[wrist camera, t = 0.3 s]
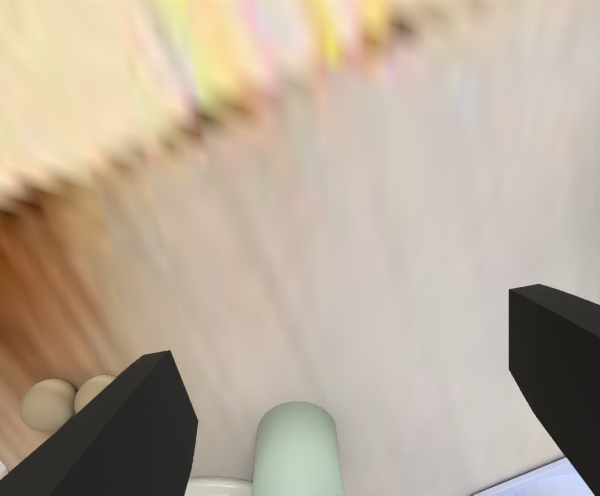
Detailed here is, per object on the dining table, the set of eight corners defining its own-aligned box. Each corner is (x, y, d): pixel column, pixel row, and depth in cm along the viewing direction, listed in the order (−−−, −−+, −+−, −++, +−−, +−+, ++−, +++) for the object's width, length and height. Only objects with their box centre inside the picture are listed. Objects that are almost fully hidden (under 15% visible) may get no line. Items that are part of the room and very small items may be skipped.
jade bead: (350, 440, 23) (369, 555, 17) (285, 470, 24) (283, 589, 18) (309, 389, 21) (316, 497, 16) (241, 423, 22) (225, 537, 17)
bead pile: (178, 417, 22) (165, 455, 20) (109, 452, 23) (90, 493, 21) (99, 338, 20) (75, 371, 18) (28, 381, 21) (-3, 417, 19)
